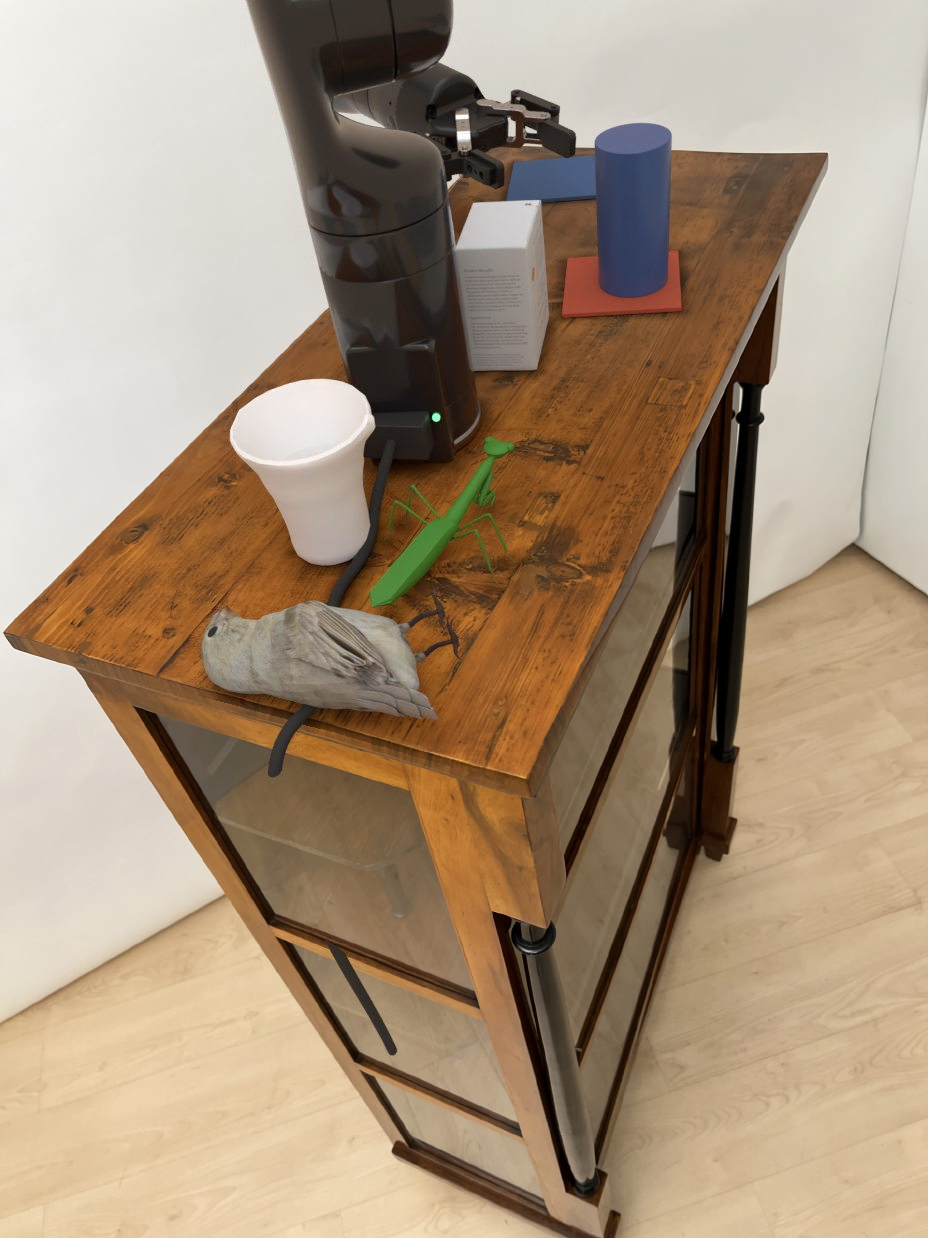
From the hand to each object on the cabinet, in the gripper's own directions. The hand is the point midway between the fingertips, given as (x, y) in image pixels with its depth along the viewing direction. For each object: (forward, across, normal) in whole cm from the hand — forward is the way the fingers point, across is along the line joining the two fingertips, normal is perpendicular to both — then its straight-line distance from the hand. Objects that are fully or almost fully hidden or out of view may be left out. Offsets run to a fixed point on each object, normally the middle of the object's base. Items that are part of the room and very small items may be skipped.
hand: (538, 161), depth 83 cm
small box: (+11, -13, +8) cm, 18 cm away
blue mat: (-10, +12, +9) cm, 18 cm away
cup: (+20, -37, +7) cm, 42 cm away
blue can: (+12, +1, +7) cm, 14 cm away
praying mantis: (+27, -33, +6) cm, 43 cm away
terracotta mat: (+11, 0, +7) cm, 13 cm away
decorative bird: (+34, -38, +2) cm, 51 cm away
